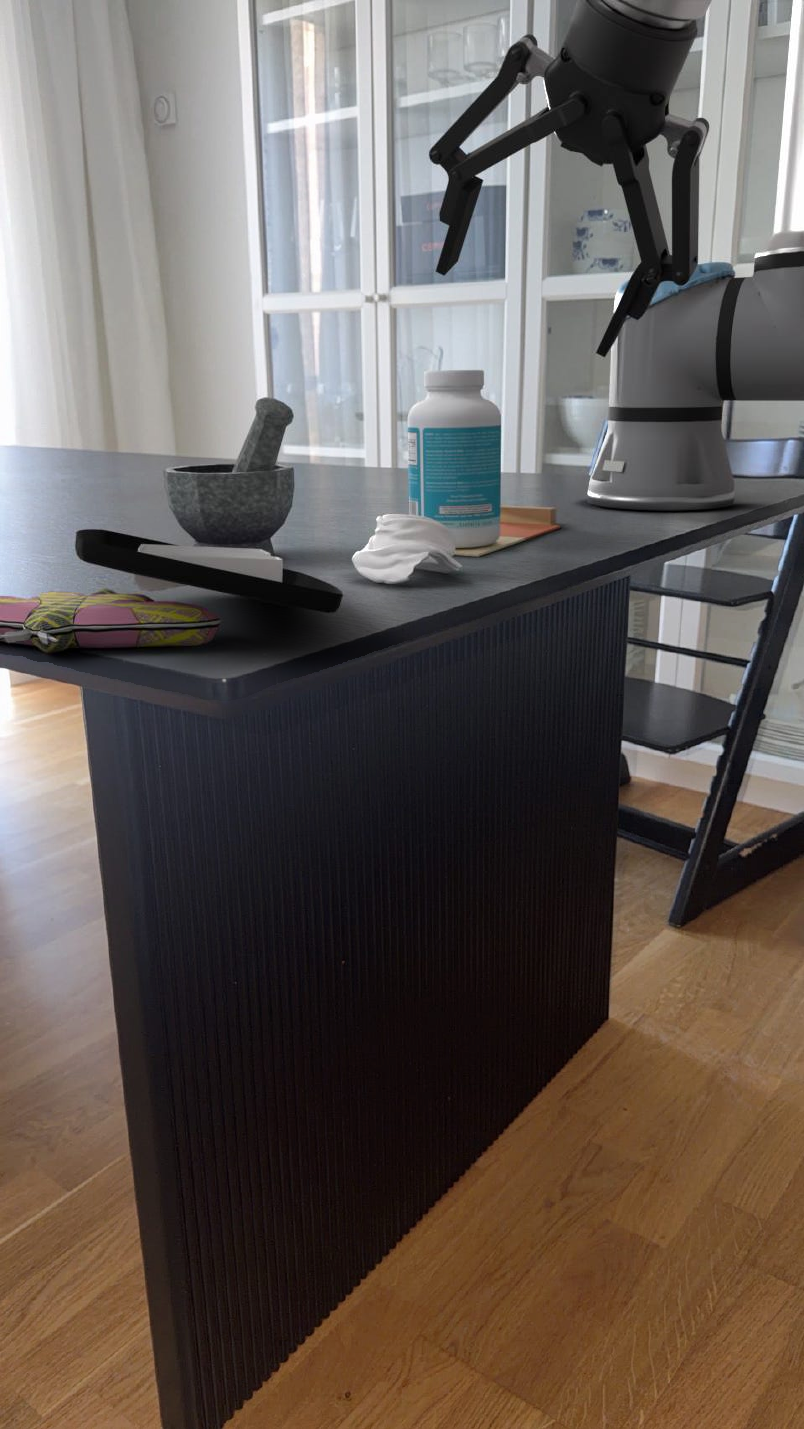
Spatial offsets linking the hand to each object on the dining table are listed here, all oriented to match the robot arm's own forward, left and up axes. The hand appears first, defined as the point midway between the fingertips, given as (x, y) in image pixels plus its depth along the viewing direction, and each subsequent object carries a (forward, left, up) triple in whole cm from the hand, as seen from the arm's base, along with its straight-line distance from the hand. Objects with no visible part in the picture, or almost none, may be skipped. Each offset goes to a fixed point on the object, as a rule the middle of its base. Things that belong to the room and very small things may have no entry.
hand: (525, 307), depth 81 cm
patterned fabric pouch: (+35, -10, -17) cm, 41 cm away
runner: (-3, -5, -18) cm, 19 cm away
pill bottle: (+2, -5, -18) cm, 19 cm away
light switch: (+38, -10, -13) cm, 42 cm away
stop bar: (-13, -5, -18) cm, 23 cm away
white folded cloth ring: (+16, -2, -18) cm, 24 cm away
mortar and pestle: (+15, -17, -18) cm, 29 cm away
